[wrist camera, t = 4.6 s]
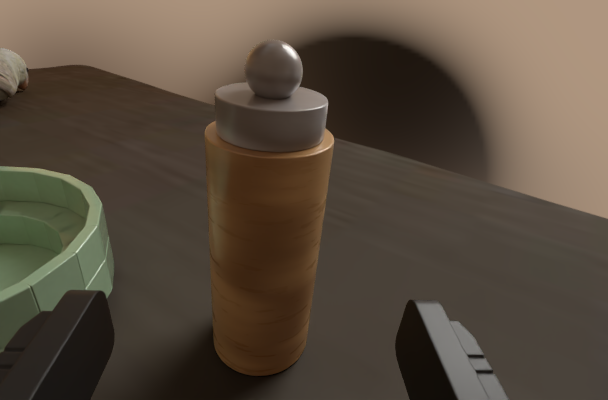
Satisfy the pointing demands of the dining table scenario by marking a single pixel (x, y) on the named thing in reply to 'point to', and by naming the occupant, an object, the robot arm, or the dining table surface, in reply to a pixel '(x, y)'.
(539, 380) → the dining table surface
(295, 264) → the pepper mill
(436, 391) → the robot arm
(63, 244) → the serving bowl
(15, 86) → the decorative bird
